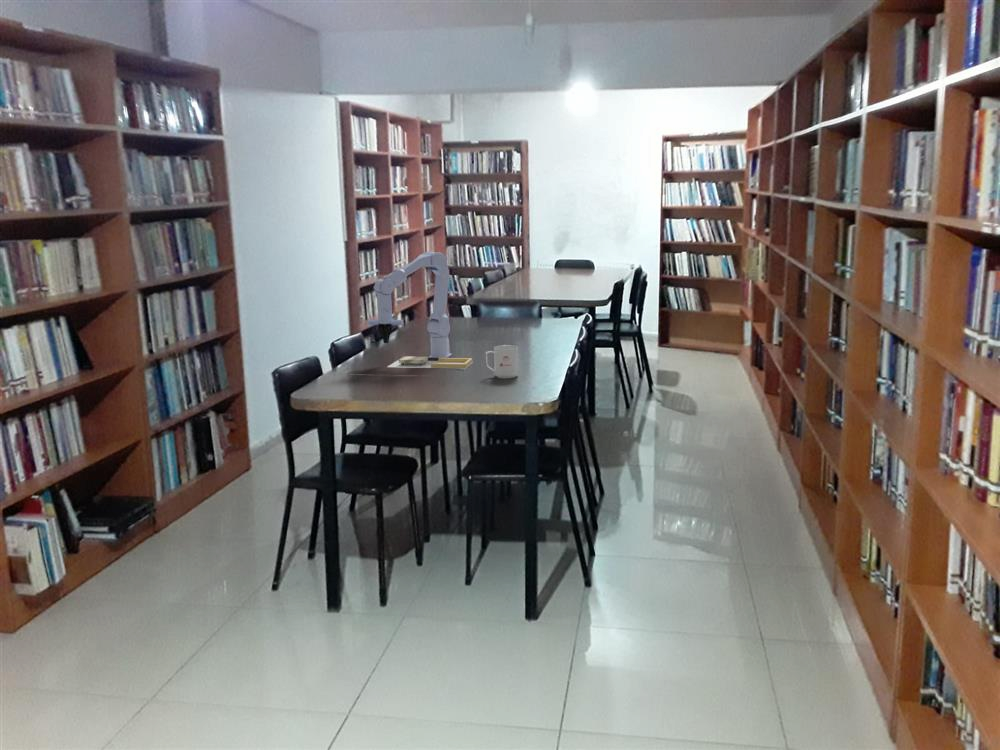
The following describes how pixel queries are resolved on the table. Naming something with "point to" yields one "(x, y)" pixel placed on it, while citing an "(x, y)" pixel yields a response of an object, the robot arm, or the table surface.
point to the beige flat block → (413, 360)
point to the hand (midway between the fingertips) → (386, 342)
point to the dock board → (438, 363)
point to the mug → (505, 361)
